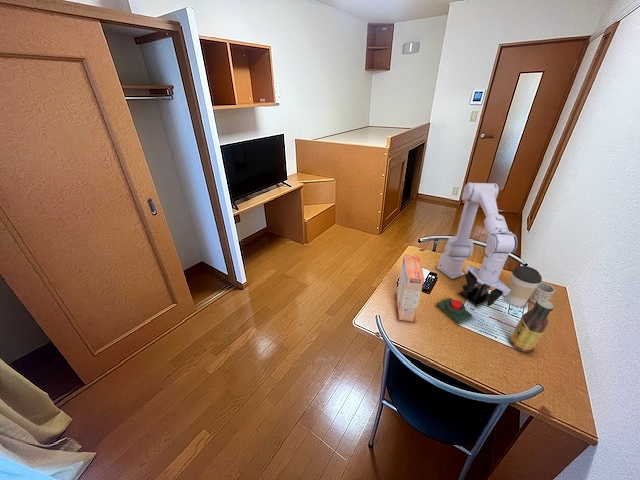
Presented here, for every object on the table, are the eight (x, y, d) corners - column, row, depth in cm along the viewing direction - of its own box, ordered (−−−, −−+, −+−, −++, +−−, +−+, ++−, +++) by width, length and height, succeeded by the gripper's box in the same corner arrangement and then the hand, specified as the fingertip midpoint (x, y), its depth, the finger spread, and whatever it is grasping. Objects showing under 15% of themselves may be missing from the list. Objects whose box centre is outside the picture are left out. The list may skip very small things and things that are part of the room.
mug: (550, 301, 103) (558, 288, 99) (542, 308, 100) (550, 295, 96) (523, 287, 110) (529, 274, 107) (515, 293, 107) (521, 280, 104)
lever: (465, 293, 98) (468, 287, 96) (459, 288, 100) (462, 283, 98) (484, 288, 103) (487, 283, 102) (478, 284, 105) (481, 279, 104)
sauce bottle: (510, 333, 90) (533, 291, 80) (532, 343, 87) (559, 300, 76) (507, 346, 86) (531, 303, 76) (530, 357, 83) (558, 313, 72)
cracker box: (414, 322, 96) (425, 278, 85) (397, 320, 97) (406, 276, 86) (411, 296, 107) (420, 254, 96) (396, 294, 108) (403, 253, 97)
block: (436, 306, 102) (438, 300, 100) (449, 300, 104) (451, 294, 103) (457, 324, 94) (460, 318, 92) (471, 318, 97) (473, 311, 95)
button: (448, 304, 98) (449, 301, 98) (455, 301, 100) (456, 298, 99) (455, 311, 96) (457, 307, 95) (462, 308, 97) (464, 304, 96)
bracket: (476, 307, 101) (482, 291, 97) (459, 294, 107) (464, 278, 103) (493, 299, 105) (500, 283, 100) (476, 287, 111) (481, 271, 107)
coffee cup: (520, 292, 107) (534, 263, 100) (533, 309, 100) (550, 278, 92) (497, 291, 108) (509, 262, 100) (508, 307, 100) (523, 277, 93)
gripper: (463, 258, 88) (454, 288, 95) (506, 283, 77) (491, 315, 84) (477, 253, 91) (467, 282, 98) (520, 276, 80) (505, 308, 87)
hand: (479, 297), depth 91 cm, fingers open, 7 cm apart
